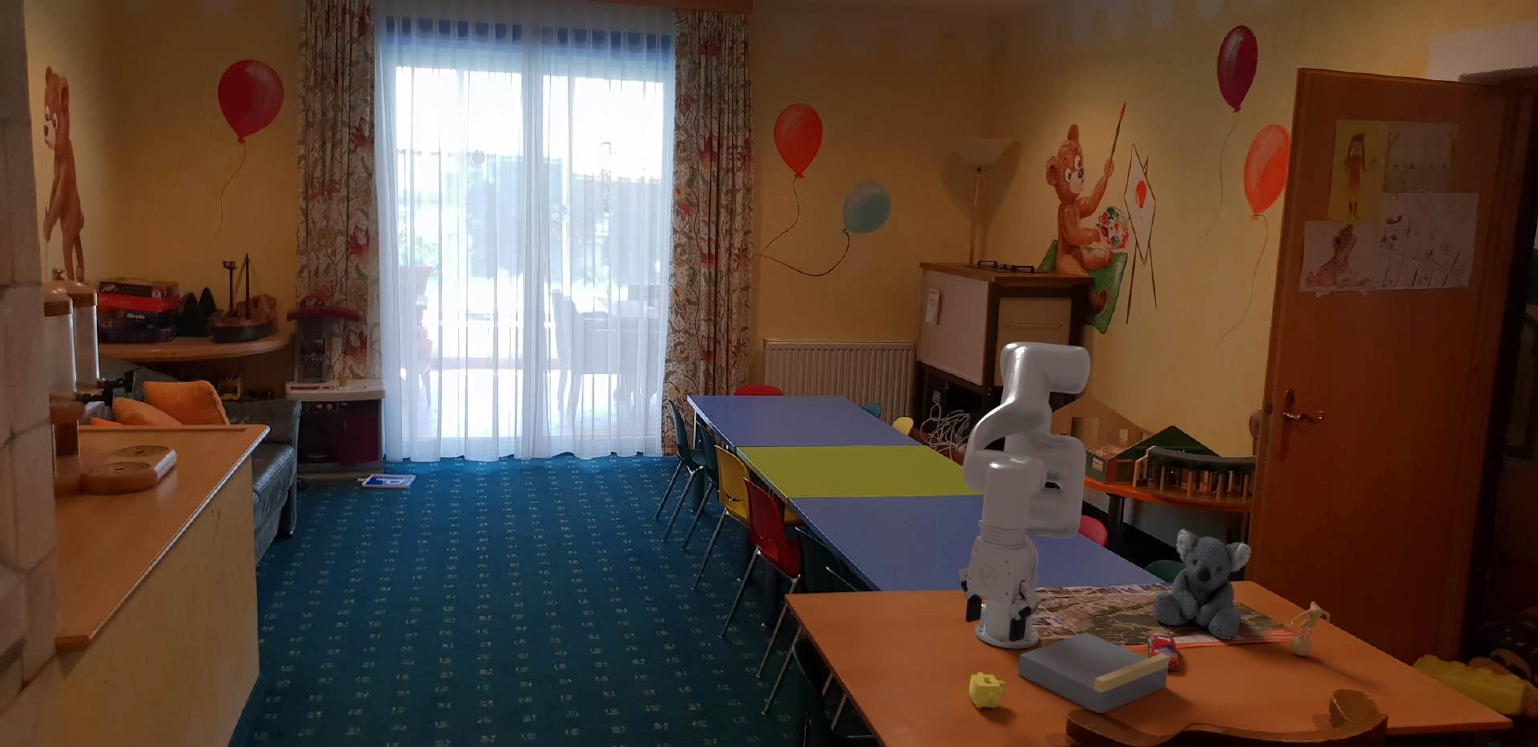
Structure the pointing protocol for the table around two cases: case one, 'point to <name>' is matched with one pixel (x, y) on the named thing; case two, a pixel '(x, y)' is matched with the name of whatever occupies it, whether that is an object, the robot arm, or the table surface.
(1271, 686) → the table surface
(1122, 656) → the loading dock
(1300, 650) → the figurine
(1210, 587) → the koala plush
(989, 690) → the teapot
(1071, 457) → the robot arm
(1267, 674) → the table surface
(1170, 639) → the race car
